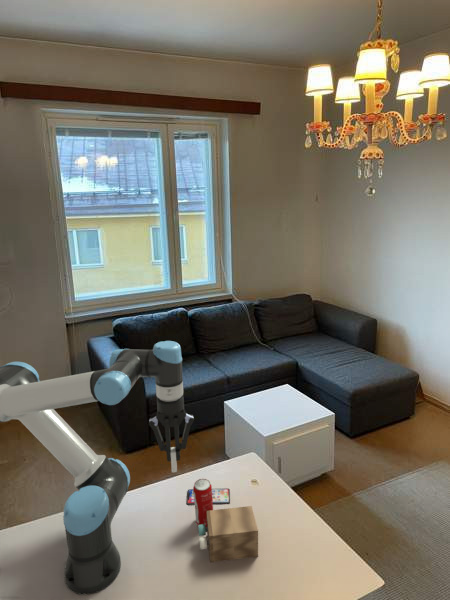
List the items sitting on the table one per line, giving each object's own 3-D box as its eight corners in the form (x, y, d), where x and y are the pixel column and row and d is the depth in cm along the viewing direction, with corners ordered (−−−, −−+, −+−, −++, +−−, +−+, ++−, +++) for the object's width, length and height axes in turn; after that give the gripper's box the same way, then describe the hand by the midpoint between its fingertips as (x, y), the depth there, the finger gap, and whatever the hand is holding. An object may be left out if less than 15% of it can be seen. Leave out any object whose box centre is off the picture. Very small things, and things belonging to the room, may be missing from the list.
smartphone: (230, 503, 144) (186, 504, 144) (230, 505, 145) (186, 506, 145) (229, 487, 152) (187, 488, 152) (229, 490, 152) (187, 491, 152)
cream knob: (200, 551, 122) (199, 543, 121) (199, 543, 125) (199, 535, 124) (227, 548, 123) (227, 540, 122) (226, 540, 125) (226, 532, 125)
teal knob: (199, 538, 126) (198, 530, 126) (198, 530, 129) (198, 522, 129) (225, 535, 127) (225, 527, 127) (224, 527, 130) (224, 519, 130)
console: (210, 562, 122) (209, 536, 120) (207, 535, 131) (206, 510, 129) (258, 556, 123) (258, 530, 121) (251, 530, 133) (251, 505, 131)
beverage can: (214, 516, 139) (213, 476, 136) (212, 531, 133) (210, 490, 129) (197, 515, 140) (195, 475, 136) (193, 530, 133) (191, 489, 130)
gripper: (145, 404, 114) (151, 479, 120) (194, 400, 116) (197, 475, 122) (147, 391, 122) (152, 463, 127) (192, 388, 123) (195, 459, 129)
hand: (174, 469), depth 124 cm, fingers closed
